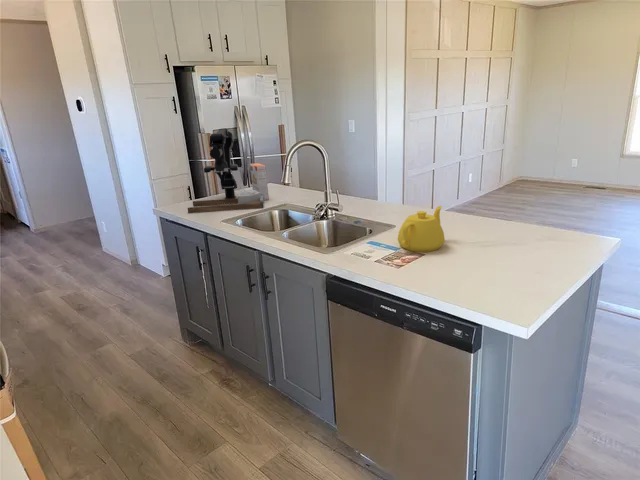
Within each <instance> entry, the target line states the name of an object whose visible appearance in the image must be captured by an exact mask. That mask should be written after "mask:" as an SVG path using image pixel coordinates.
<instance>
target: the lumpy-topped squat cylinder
mask: <svg viewBox="0 0 640 480" xmlns="http://www.w3.org/2000/svg"><path fill="white" fill-rule="evenodd" d="M237 198H238V204H248V203H253V202H260V192H257V191H256V190H253V189H248V190H247V191H246V190H245V189H242V190H241V191H240V192H239V193H238V194H237Z"/></svg>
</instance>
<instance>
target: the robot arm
mask: <svg viewBox="0 0 640 480" xmlns="http://www.w3.org/2000/svg"><path fill="white" fill-rule="evenodd" d="M234 138H235V137H234V135H233V133H232V132H230V131H229V129H228V128H219V129H218V131H216V132H215V133H211V134H210V136H209V147H210V148H212V149H211V150H210V151H209V156H210V157H211V159H214V166H212V165H205V167H203V172H204V173H210V172H212V171H214V174H216V175H217V176H218V178H219V179H220V186H221V187H220V188H221V190H224V194H225V195H224V199H234V198H237V196H236V195H235V193H236V192H235V190H236V189H238V184H237V181H236V178H235V176H234V175H233V173H232V172H234V171H238V170H239V165H238V164H237V163H235V164H234V163H232V155H231V154H232V153H231V150H232V149H233V147H234V142H235V139H234Z"/></svg>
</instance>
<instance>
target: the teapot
mask: <svg viewBox="0 0 640 480" xmlns="http://www.w3.org/2000/svg"><path fill="white" fill-rule="evenodd" d="M441 209H442V205H439V206H437V207H436V208H435V210H434V212H433V215H431V214H427V211H425V210H423V211H422V210H420V211H417V212H416V214H412V215H409V216H408V217H406V219H405V220H404V222H403V223H402V224H401V226H400V228H399V231H398V234H397V242H398V243H399V245H400V246H401V247H402V248H403V249H405V250H407V251H411V252H417V253H419V252H420V253H426V252H427V253H428V251H429V252H433V250H434V251H437V250H438V249H440V248H441V247H442V246H443V244H444V243H445V234H444V233H445V232H444V230H443V227H442V226H441V218H440V217H441V216H440V212H441ZM436 249H437V250H436Z"/></svg>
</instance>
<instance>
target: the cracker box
mask: <svg viewBox="0 0 640 480" xmlns="http://www.w3.org/2000/svg"><path fill="white" fill-rule="evenodd" d="M249 168H250V176H251V177H250V179H251V184H252V185H251V187H252V190H256V191H257V192H260V196H261V195H263V197H264V202H265V201H269V198H270V197H269V189H268V188H269V187H268V177H267V176H268V175H267V166H266V165H264V164H262V163H259V162H258V163H256V162H255V163H250V164H249Z"/></svg>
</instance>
